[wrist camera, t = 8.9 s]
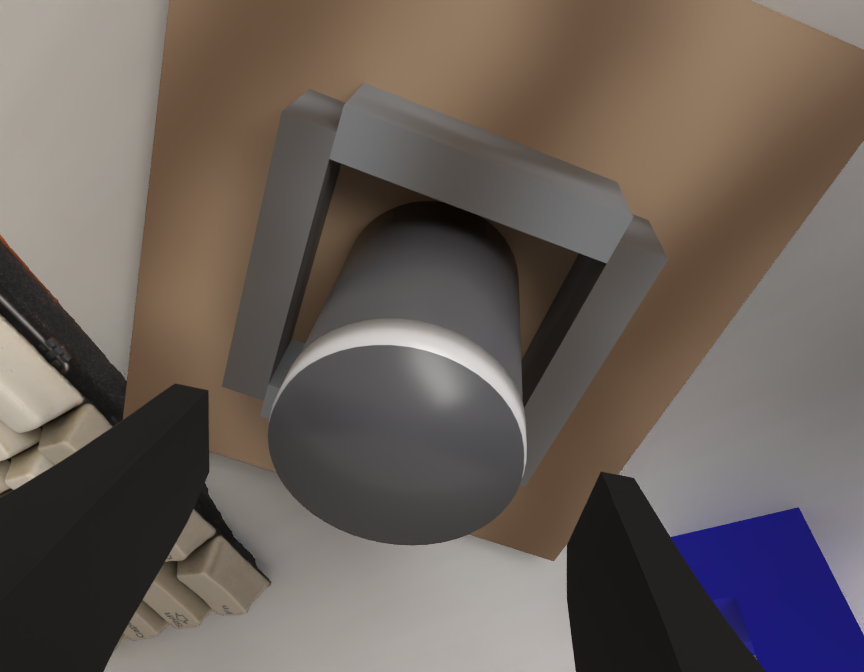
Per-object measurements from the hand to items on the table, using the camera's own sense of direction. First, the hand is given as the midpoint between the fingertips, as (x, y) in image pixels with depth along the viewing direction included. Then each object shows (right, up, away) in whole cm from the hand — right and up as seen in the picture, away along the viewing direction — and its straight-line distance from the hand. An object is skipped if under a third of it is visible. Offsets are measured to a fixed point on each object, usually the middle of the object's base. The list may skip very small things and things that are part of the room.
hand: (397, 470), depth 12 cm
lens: (+1, +4, +6) cm, 7 cm away
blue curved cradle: (+14, -9, +15) cm, 22 cm away
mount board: (+1, +5, +7) cm, 9 cm away
